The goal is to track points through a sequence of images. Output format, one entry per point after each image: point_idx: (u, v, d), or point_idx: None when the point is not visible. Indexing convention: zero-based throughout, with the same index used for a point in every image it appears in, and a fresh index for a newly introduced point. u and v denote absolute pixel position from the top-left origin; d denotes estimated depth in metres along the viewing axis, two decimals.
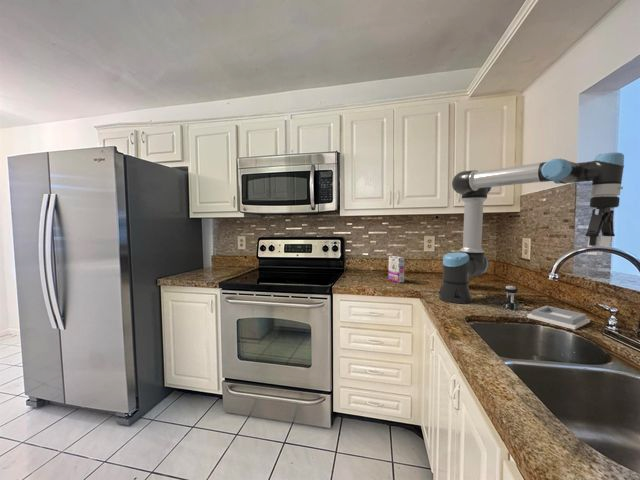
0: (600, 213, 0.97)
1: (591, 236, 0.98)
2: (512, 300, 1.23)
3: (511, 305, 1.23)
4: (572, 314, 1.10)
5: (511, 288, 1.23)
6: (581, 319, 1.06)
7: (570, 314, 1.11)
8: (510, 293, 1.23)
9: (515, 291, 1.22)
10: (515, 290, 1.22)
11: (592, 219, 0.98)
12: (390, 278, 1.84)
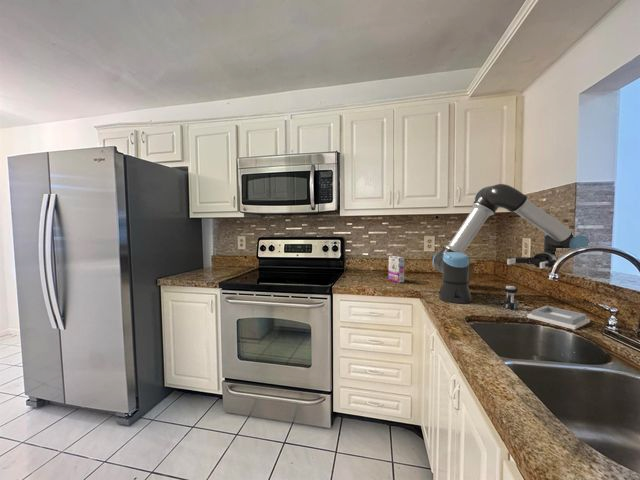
0: None
1: (552, 264, 1.26)
2: (512, 300, 1.23)
3: (511, 305, 1.23)
4: (572, 314, 1.10)
5: (511, 288, 1.23)
6: (581, 319, 1.06)
7: (570, 314, 1.11)
8: (510, 293, 1.23)
9: (515, 291, 1.22)
10: (515, 290, 1.22)
11: None
12: (390, 278, 1.84)
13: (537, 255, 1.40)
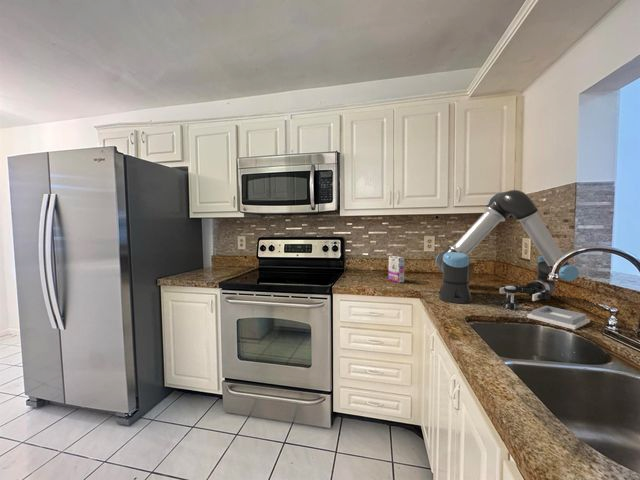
0: None
1: (544, 296, 1.23)
2: (512, 300, 1.23)
3: (511, 305, 1.23)
4: (572, 314, 1.10)
5: (511, 288, 1.23)
6: (581, 319, 1.06)
7: (570, 314, 1.11)
8: (510, 293, 1.23)
9: (515, 291, 1.22)
10: (515, 290, 1.22)
11: (548, 292, 1.27)
12: (390, 278, 1.84)
13: (530, 283, 1.37)
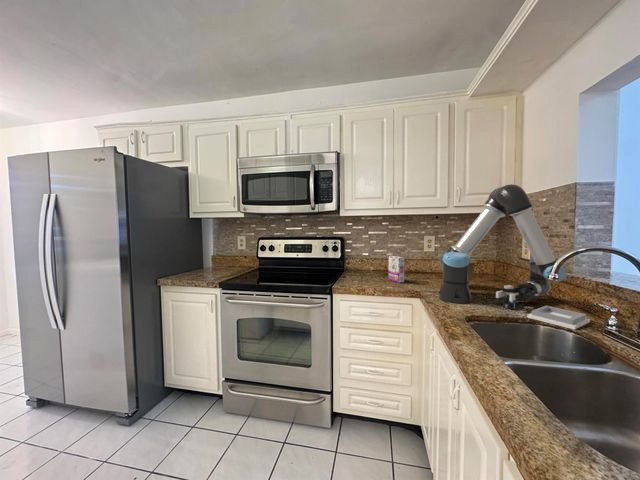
0: (535, 297, 1.25)
1: (522, 296, 1.22)
2: None
3: (511, 305, 1.23)
4: (572, 314, 1.10)
5: (509, 287, 1.23)
6: (581, 319, 1.06)
7: (570, 314, 1.11)
8: (509, 293, 1.24)
9: (513, 290, 1.23)
10: (513, 289, 1.22)
11: (533, 294, 1.24)
12: (390, 278, 1.84)
13: (521, 284, 1.34)
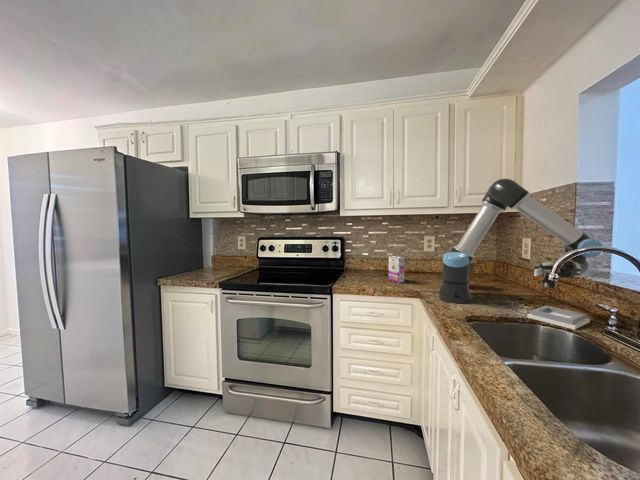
0: (577, 274, 1.13)
1: (564, 273, 1.10)
2: None
3: (551, 283, 1.11)
4: (572, 314, 1.10)
5: (549, 264, 1.11)
6: (581, 319, 1.06)
7: (570, 314, 1.11)
8: (549, 270, 1.11)
9: None
10: None
11: (575, 271, 1.12)
12: (390, 278, 1.84)
13: None
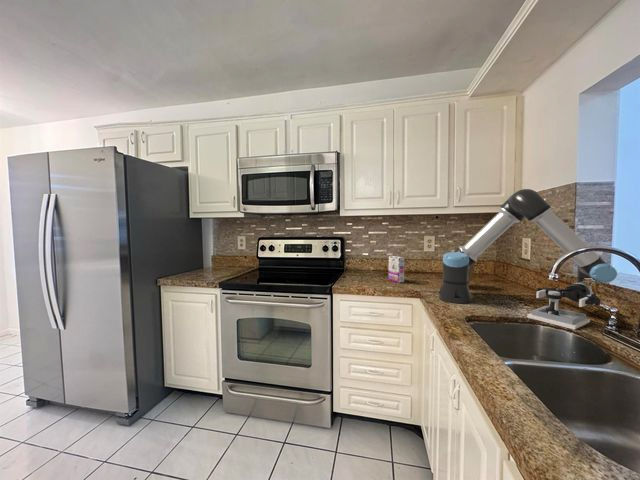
0: None
1: (593, 301, 1.05)
2: (556, 307, 1.09)
3: (555, 313, 1.09)
4: (572, 314, 1.10)
5: (555, 294, 1.09)
6: (581, 319, 1.06)
7: (570, 314, 1.11)
8: (554, 299, 1.09)
9: (560, 297, 1.08)
10: (560, 296, 1.08)
11: None
12: (390, 278, 1.84)
13: (571, 286, 1.18)
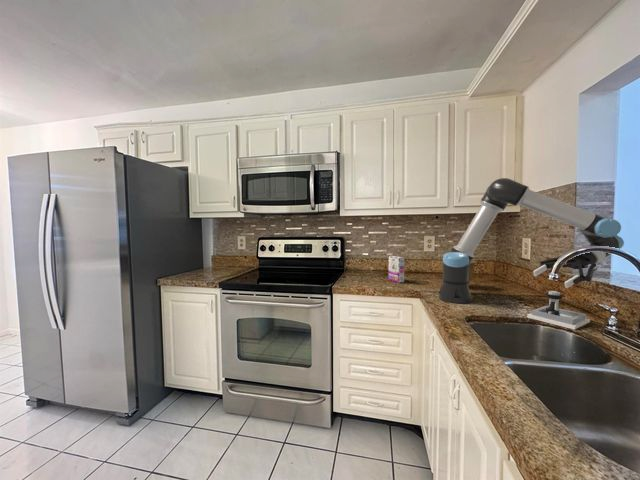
0: (594, 270, 1.15)
1: (583, 278, 1.12)
2: (556, 307, 1.09)
3: (555, 313, 1.09)
4: (572, 314, 1.10)
5: (555, 294, 1.09)
6: (581, 319, 1.06)
7: (570, 314, 1.11)
8: (554, 299, 1.09)
9: (560, 297, 1.08)
10: (560, 296, 1.08)
11: (592, 270, 1.13)
12: (390, 278, 1.84)
13: None
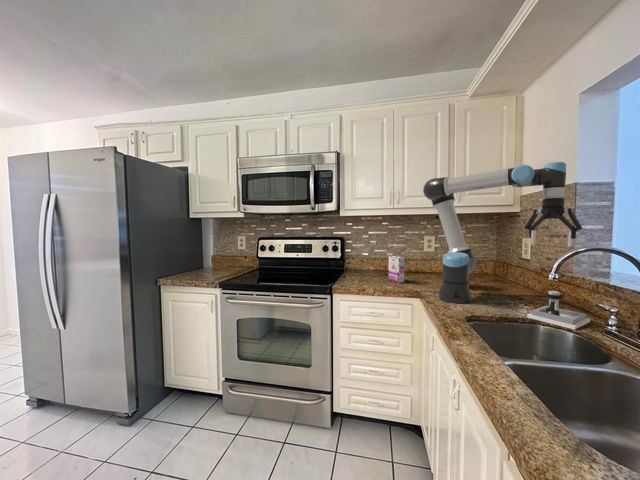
0: (573, 211, 1.17)
1: (576, 231, 1.16)
2: (556, 307, 1.09)
3: (555, 313, 1.09)
4: (572, 314, 1.10)
5: (555, 294, 1.09)
6: (581, 319, 1.06)
7: (570, 314, 1.11)
8: (554, 299, 1.09)
9: (560, 297, 1.08)
10: (560, 296, 1.08)
11: (574, 216, 1.16)
12: (390, 278, 1.84)
13: (546, 206, 1.23)
